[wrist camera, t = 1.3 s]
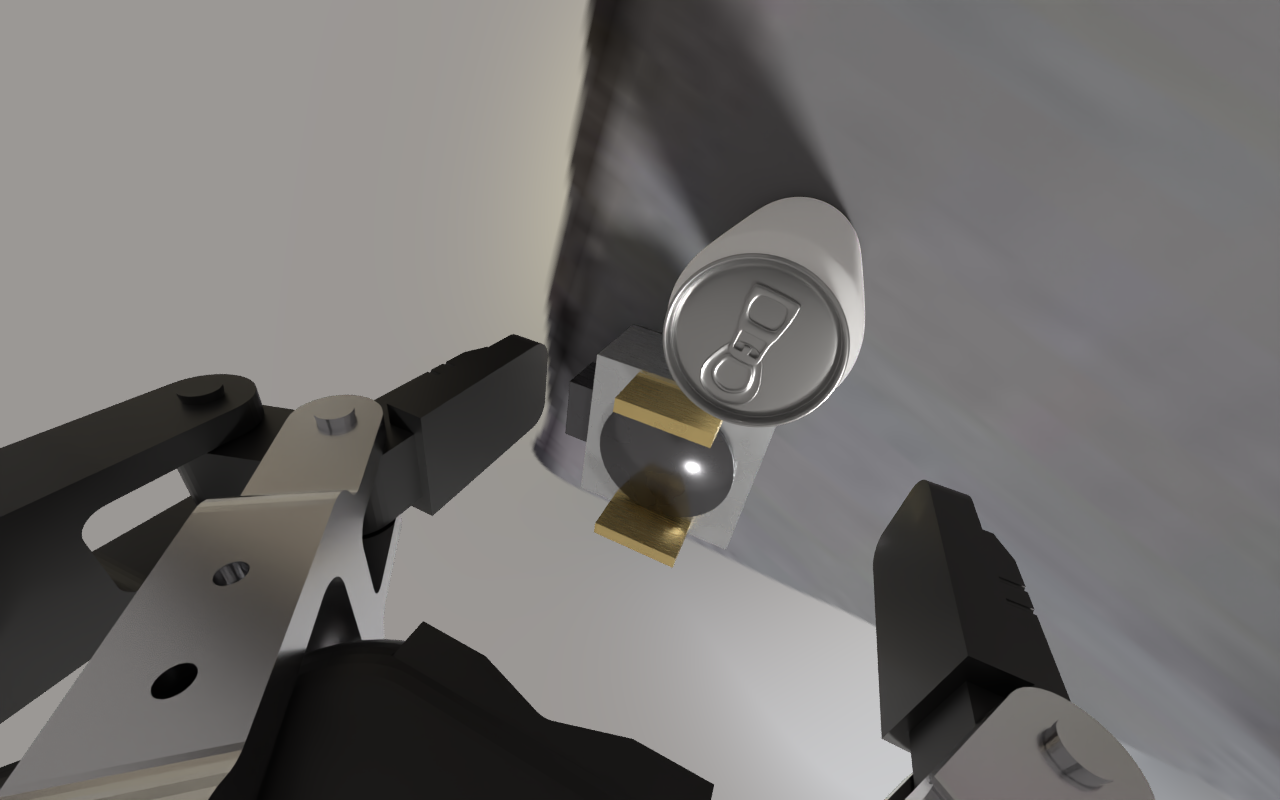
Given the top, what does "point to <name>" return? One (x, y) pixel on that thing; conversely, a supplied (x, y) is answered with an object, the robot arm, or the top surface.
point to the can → (769, 315)
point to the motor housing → (658, 452)
